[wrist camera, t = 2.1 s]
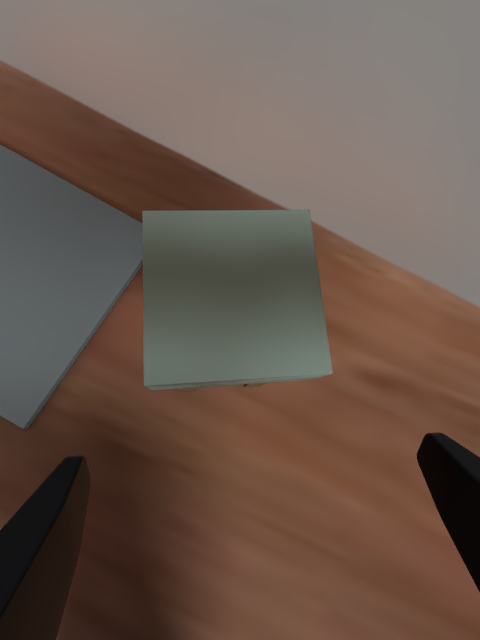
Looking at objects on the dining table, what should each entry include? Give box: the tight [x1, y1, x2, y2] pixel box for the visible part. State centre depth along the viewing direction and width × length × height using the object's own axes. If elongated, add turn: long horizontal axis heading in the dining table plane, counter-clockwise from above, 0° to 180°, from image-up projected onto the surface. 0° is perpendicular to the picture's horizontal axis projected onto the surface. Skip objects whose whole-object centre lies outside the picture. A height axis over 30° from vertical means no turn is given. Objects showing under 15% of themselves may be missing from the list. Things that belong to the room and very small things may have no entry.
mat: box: [0, 145, 143, 429], centre depth 22 cm, size 14×14×1 cm
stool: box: [142, 210, 332, 392], centre depth 17 cm, size 6×6×11 cm
